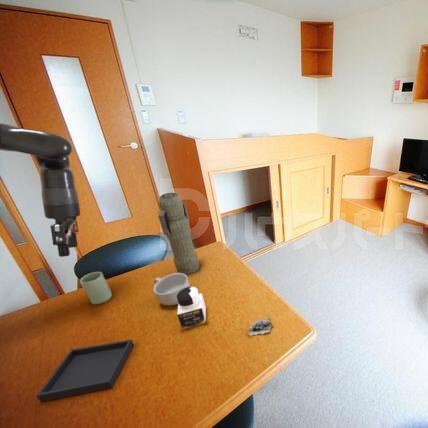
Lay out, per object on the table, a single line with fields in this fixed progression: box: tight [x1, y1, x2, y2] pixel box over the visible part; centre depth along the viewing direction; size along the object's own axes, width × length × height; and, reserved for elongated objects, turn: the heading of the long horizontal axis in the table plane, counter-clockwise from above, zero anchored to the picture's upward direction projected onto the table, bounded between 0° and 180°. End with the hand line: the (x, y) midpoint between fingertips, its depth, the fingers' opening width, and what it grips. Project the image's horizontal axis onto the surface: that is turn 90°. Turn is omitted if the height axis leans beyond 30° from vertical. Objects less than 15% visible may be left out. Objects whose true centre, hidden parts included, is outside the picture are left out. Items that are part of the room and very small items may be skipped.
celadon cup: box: [79, 271, 113, 305], centre depth 87 cm, size 6×6×10 cm
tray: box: [35, 339, 135, 402], centre depth 65 cm, size 15×12×3 cm
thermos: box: [157, 192, 200, 276], centre depth 98 cm, size 9×12×35 cm
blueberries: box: [247, 318, 274, 336], centre depth 78 cm, size 7×8×2 cm
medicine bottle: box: [176, 286, 207, 330], centre depth 79 cm, size 7×7×12 cm
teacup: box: [153, 272, 191, 306], centre depth 88 cm, size 14×11×8 cm
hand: (68, 251), depth 76 cm, fingers open, 8 cm apart
